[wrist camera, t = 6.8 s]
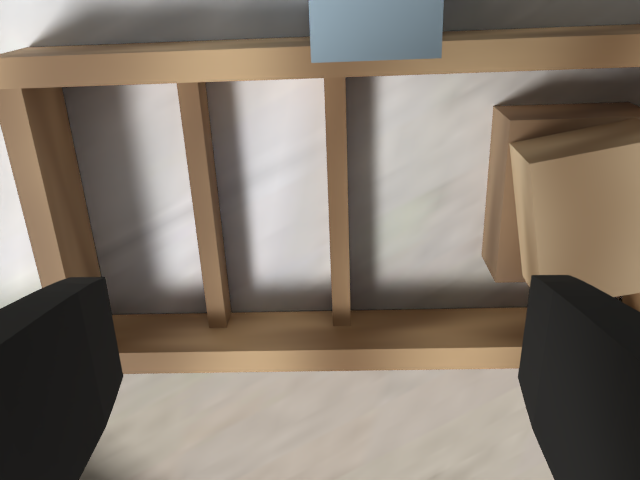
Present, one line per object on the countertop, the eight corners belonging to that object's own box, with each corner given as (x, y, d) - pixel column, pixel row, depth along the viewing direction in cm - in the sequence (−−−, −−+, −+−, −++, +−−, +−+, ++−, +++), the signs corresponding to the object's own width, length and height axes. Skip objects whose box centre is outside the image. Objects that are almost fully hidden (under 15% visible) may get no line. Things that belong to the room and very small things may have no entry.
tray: (702, 21, 17) (754, 29, 15) (640, 324, 21) (675, 366, 19) (26, 47, 18) (-17, 58, 16) (91, 334, 22) (63, 374, 20)
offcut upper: (636, 118, 17) (673, 136, 15) (638, 255, 18) (671, 287, 16) (509, 143, 17) (529, 164, 15) (522, 275, 19) (542, 309, 17)
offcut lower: (624, 100, 19) (659, 116, 17) (599, 249, 21) (628, 279, 19) (491, 104, 19) (510, 120, 17) (480, 252, 21) (495, 282, 19)
